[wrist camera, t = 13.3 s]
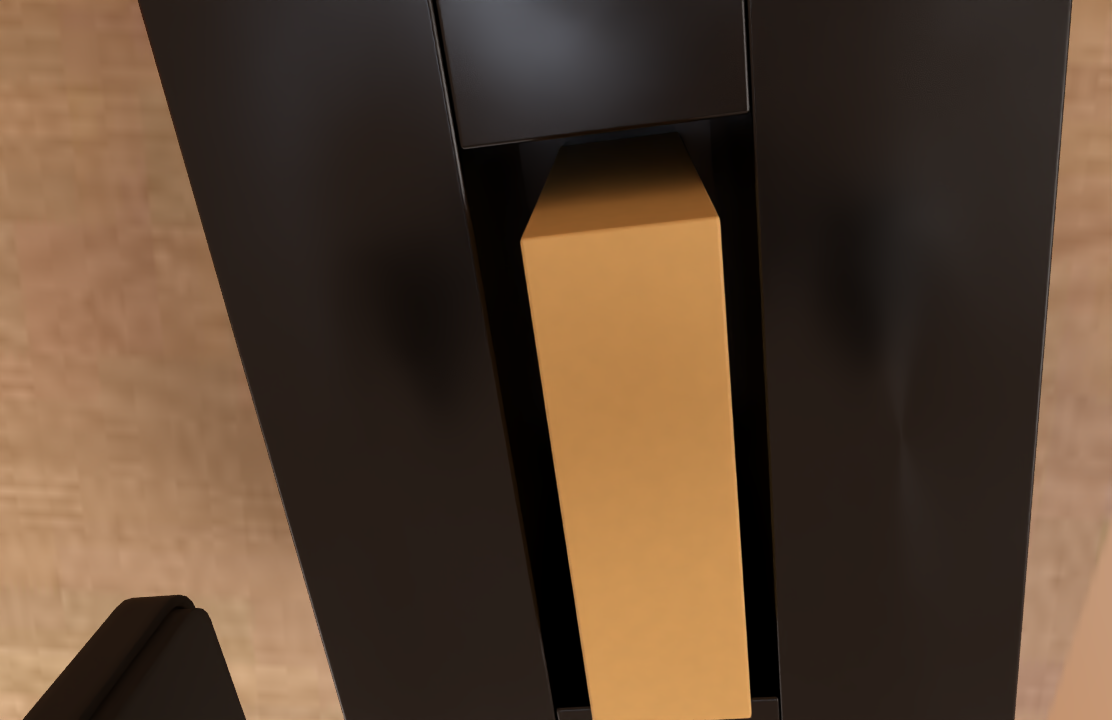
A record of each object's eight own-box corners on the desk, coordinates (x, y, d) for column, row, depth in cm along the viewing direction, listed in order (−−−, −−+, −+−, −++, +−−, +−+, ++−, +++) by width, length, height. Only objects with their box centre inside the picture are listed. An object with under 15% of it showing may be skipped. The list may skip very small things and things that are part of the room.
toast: (678, 131, 18) (720, 216, 11) (705, 467, 21) (752, 719, 13) (559, 146, 18) (519, 239, 11) (602, 476, 21) (593, 726, 14)
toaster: (889, -109, 17) (1089, -197, 10) (884, 557, 23) (1008, 813, 16) (319, -21, 19) (122, -42, 11) (449, 587, 25) (376, 837, 17)
